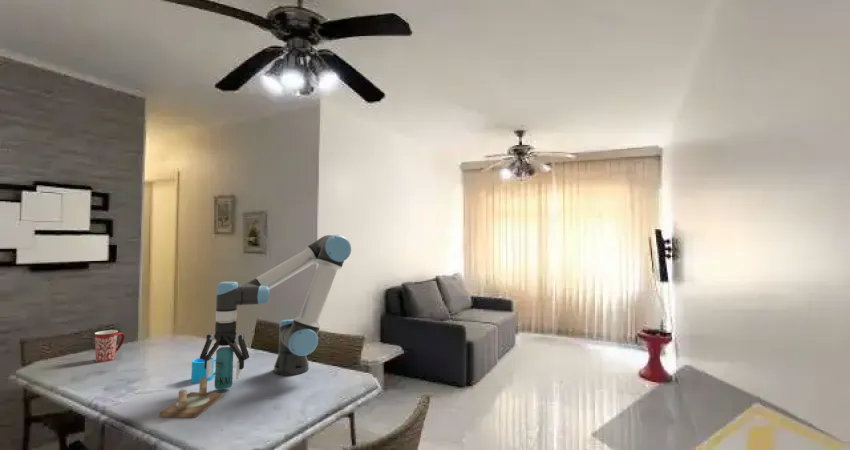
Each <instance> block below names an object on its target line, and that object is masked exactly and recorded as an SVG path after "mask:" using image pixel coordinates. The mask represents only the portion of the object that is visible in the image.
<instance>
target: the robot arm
mask: <svg viewBox="0 0 850 450" xmlns="http://www.w3.org/2000/svg"><path fill="white" fill-rule="evenodd" d="M304 249H305V250H303V251H301V252H298V253H297V254H296V255H293V256H292V257H290V258H289V259H287V260H285V261H283V262H282V263H280V264H277V266H275V267H273V268H271V269H269V270H267V271H265V272H264V273H262V274H261V275H258V276H257V277H256V278H253V279H252V280H250V281H247V282H244V283H242V284H241V285H240V286H239V283H238V281H221V282H219V283H218V284H217V288H216V300H215V301H216V304H215V323H214V324H215V326H214V327H215V329H214V330H215V331H214V332H215V333H214V334H213V333H209V334H207V335H206V341H205V343H204V344H203V345H204V346H203V348H202V350H201V353H200V355H199V358H200V359H203V360H205V367H204V368H205V369H207V370H206V378H209V377H211V376H212V359H211V358H213V355H214V354H215V352H216V351H217V350H218V349H219V348H220V341H221V340H226V342H227V343H228V345H227V346H228V347H231V348H232V350H233V351H234V352H233V354H234V355H235V356H236V358H237V361H236V374H235V375H236V378H235V379H236V380H239V379H240V378H241V377H242V370H243V369H244V368H245V361H247V360H248V359H249V358H250V355H249V351H248V347H247V345H246V341H245V334H243V333H241V334H237V321H236V320H237V318H238V317H237V316H238V306H249V305H250V306H252V305H259V306H260V305H265V304H268V303H269V301H270V290H271V289H273V288H275V287H277V286H278V285H280V284H281V283H284V282H285V281H286V280H288V279H290V278H291V277H293V276H295V275H296V274H298V273H300V272H302V271H303V270H305V269H307V268H309V267H311V266H312V265H317V268H316V270H315V273H314V275H313V278H312V281H311V284H310V286H309V289H308V291H307V294H306V297H305V299H304V302H303V305H302V308H301V310H300V313H299V316H297V317H295V318H292V319H283V320H280V322H279V328H278V329H279V331H278V332H279V333H278V354H277V358H276V360H275V363H274V366H273V372H274V374H277V375H281V376H290V375H291V376H293V375H300V374H303V373H305V372H308V371H309V367H310V366H309V361H308V357H307V356H308V355H311V354H312V353H313V352H314V351H316V349H317V346H318V344H319V337H318V333H319V331H320V328H321V326H320V323H319V320H320V318H321V315H322V314H323V313H322V312H323V310H324V307H325V304H326V301H327V299H328V295H329V293H330V291H331V288H332V285H333V283H334V280H335V277H336V274H337V272H338V271H339V270H340V269H342V267H343V265H344V262H345V261H346V260H347V259H348V258H349V257H350V255H351V252H352V246H351V243H350V241H349V239H348V238H346V237H345V236H343V235H339V234H333V235H331V234H328V235H323V236H321V237H320V238H319V239H317V240H315V241H314V242H312V243H311V244H309V245H306V246H305V248H304ZM214 339H215V342H214V343H213V346H212V347H211V345H212V342H213V340H214ZM236 340H237V341H238V342H237V341H236ZM237 343H238V344H237ZM238 345H239V346H238ZM210 347H211V348H210ZM209 349H210V350H209Z"/></svg>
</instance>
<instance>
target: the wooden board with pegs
mask: <svg viewBox="0 0 850 450" xmlns="http://www.w3.org/2000/svg"><path fill="white" fill-rule="evenodd" d="M207 388H208V381H207V378H200V383H199V388H198V389H199V391H198V392H192V391H191V392H188V390H187V389H182V390H179V391H178V396H177V397H178V400H176V401H175V402H173V403H171V404H170V405H169V406H167V407H165V408H163V409H162V410H161V411H159V416H158V417H159V418H197V417H199V415H201V414H202V413H203V412H205V411H206V410H207V409H208V408H210V407H211V406H213V405H214V404H216V402H218V401H220V399H222V398H223V392H207V391H208V389H207Z"/></svg>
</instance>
